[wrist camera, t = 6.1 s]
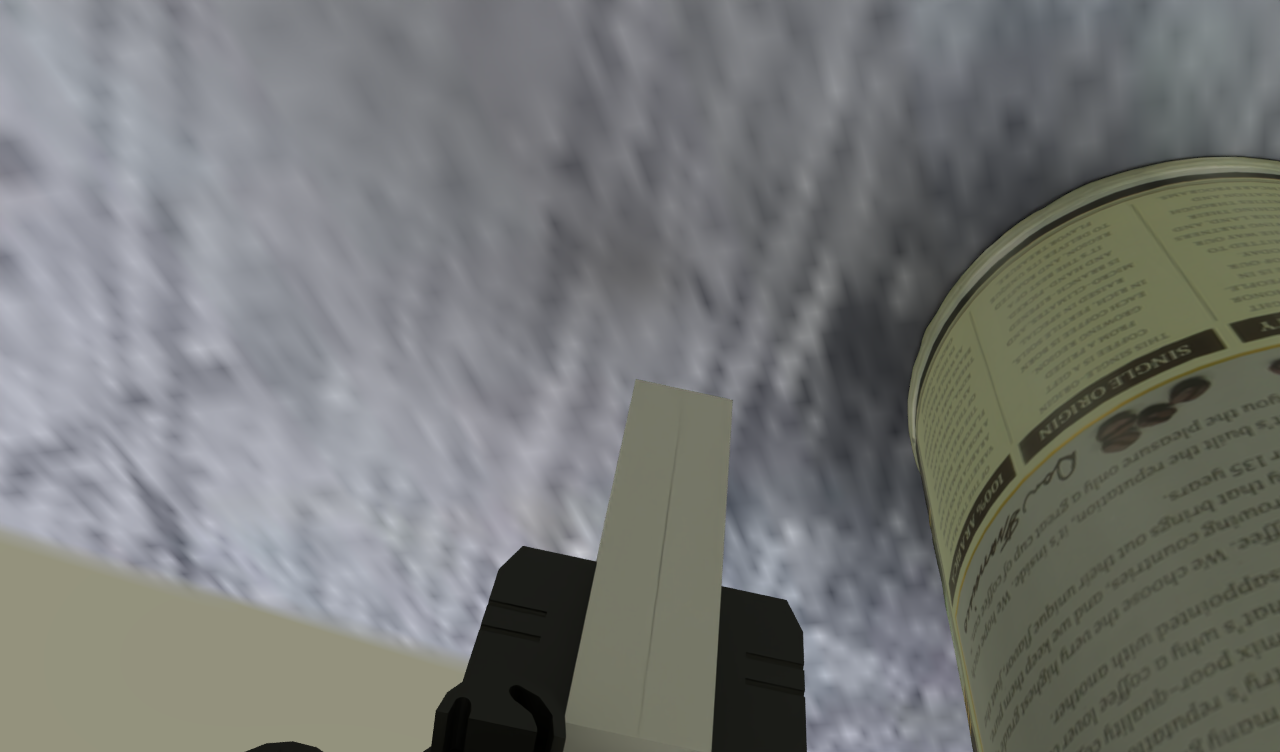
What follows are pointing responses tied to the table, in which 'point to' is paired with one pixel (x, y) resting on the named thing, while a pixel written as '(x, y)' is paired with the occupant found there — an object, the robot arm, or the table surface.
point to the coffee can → (1114, 466)
